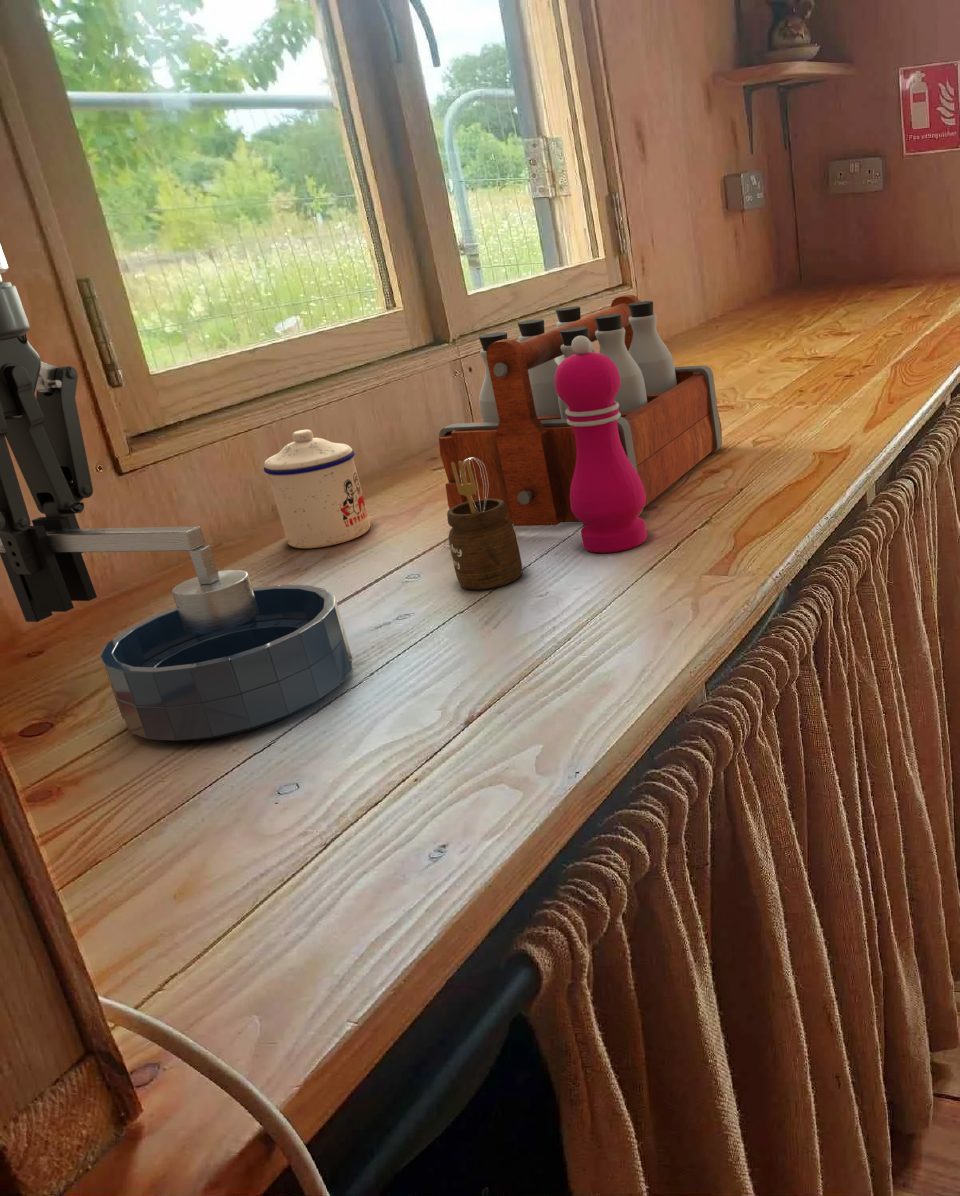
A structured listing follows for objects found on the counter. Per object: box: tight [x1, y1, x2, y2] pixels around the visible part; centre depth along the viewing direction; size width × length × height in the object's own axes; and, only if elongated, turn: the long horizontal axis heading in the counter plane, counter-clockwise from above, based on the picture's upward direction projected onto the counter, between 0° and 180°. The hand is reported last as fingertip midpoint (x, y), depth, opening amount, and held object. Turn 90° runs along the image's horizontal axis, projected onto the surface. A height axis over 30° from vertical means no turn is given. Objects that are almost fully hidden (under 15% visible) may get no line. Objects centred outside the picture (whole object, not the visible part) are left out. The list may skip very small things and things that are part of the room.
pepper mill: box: [555, 336, 648, 554], centre depth 106 cm, size 7×7×20 cm
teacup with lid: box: [263, 429, 371, 549], centre depth 121 cm, size 12×9×12 cm
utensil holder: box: [447, 458, 523, 591], centre depth 101 cm, size 6×6×12 cm
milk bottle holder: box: [438, 294, 723, 527], centre depth 127 cm, size 21×35×19 cm, turn 165°
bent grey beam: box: [0, 525, 259, 634], centre depth 82 cm, size 20×5×7 cm, turn 74°
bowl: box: [99, 584, 353, 741], centre depth 83 cm, size 16×16×6 cm
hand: (67, 603), depth 85 cm, fingers closed on bent grey beam, 1 cm apart
